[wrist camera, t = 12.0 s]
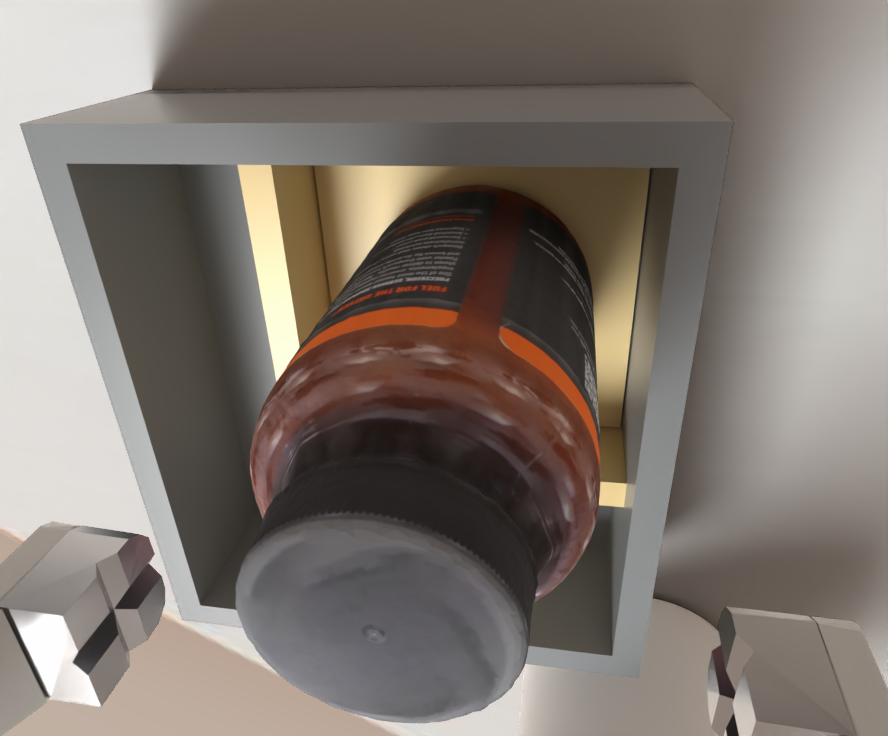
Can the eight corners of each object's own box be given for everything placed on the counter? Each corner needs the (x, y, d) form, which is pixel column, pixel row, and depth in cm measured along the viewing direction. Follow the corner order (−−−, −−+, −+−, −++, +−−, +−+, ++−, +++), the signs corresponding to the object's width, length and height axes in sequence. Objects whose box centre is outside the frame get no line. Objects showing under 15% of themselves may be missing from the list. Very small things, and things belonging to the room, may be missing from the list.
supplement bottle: (333, 285, 19) (79, 599, 9) (476, 126, 16) (323, 343, 7) (485, 417, 20) (398, 812, 11) (641, 292, 18) (714, 673, 8)
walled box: (628, 550, 23) (638, 678, 19) (248, 513, 26) (182, 620, 21) (692, 82, 16) (733, 121, 12) (150, 89, 18) (19, 124, 14)
